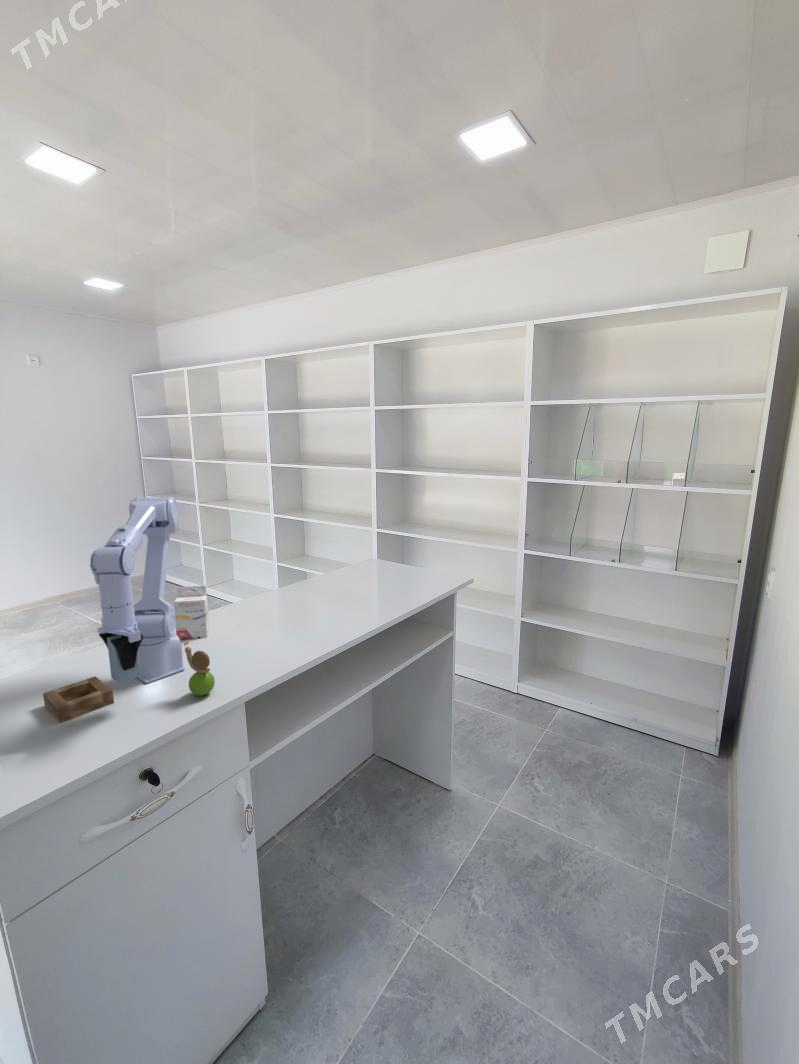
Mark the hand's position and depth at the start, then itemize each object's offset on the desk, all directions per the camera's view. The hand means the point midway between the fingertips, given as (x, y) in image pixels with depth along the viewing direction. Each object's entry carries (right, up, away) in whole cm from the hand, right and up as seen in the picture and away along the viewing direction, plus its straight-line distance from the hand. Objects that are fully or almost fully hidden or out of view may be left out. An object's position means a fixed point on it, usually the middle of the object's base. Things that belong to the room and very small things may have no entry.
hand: (124, 665), depth 100 cm
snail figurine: (+13, -9, +7) cm, 17 cm away
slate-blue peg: (0, -3, 0) cm, 3 cm away
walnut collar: (-11, -9, +3) cm, 15 cm away
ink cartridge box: (-3, -3, +41) cm, 41 cm away
